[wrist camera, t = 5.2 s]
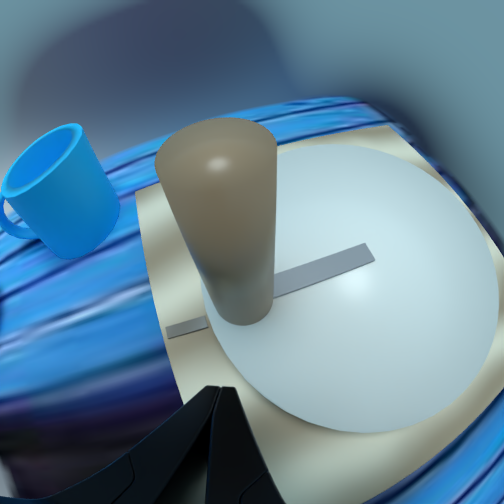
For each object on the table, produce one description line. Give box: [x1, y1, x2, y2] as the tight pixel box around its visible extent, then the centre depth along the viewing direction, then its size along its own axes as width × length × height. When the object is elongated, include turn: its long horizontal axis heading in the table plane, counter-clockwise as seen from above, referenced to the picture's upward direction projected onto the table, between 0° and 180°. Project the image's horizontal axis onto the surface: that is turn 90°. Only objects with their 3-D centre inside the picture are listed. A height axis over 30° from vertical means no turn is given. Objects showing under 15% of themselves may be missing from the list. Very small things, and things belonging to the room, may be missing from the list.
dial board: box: [135, 125, 504, 504], centre depth 17 cm, size 26×26×2 cm
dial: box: [155, 118, 499, 433], centre depth 12 cm, size 20×20×10 cm
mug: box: [0, 123, 120, 259], centre depth 18 cm, size 12×8×8 cm
